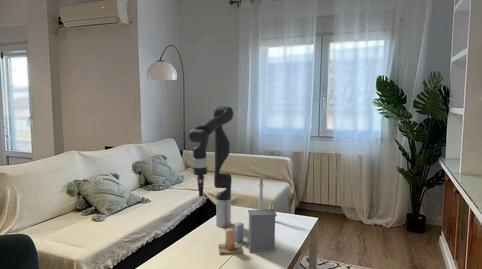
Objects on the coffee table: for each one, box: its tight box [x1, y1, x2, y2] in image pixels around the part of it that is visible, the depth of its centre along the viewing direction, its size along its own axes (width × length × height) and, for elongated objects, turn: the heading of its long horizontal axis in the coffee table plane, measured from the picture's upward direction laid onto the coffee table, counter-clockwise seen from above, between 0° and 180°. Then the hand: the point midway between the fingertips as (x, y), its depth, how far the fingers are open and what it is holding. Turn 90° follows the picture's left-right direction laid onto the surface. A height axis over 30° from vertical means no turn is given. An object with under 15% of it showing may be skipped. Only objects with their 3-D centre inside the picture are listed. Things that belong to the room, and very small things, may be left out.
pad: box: [218, 243, 243, 256], centre depth 183 cm, size 10×12×1 cm
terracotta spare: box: [224, 227, 236, 250], centre depth 183 cm, size 5×5×10 cm
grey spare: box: [234, 222, 245, 244], centre depth 193 cm, size 5×5×10 cm
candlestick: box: [257, 174, 265, 210], centre depth 229 cm, size 13×13×30 cm
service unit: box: [247, 208, 277, 253], centre depth 184 cm, size 8×14×20 cm, turn 97°
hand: (201, 193), depth 189 cm, fingers open, 8 cm apart
